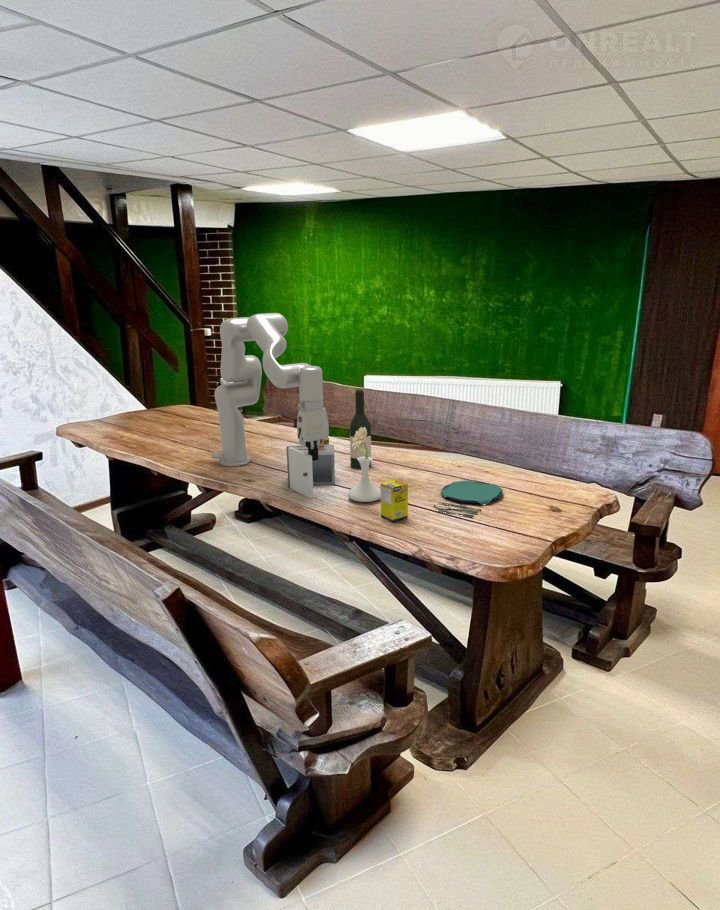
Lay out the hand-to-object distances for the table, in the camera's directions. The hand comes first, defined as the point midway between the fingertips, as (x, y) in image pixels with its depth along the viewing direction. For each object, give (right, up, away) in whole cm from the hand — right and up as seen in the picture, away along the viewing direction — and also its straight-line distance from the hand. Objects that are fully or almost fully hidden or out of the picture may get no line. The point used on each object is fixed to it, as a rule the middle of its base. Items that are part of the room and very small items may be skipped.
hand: (313, 459), depth 200 cm
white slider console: (-2, -8, +18) cm, 19 cm away
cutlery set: (+50, -14, -3) cm, 52 cm away
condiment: (-1, -1, +43) cm, 43 cm away
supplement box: (+26, -18, -17) cm, 36 cm away
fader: (+1, +5, +17) cm, 18 cm away
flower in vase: (+17, -13, -2) cm, 22 cm away
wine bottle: (+16, -3, +34) cm, 38 cm away
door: (-5, -11, +6) cm, 14 cm away
